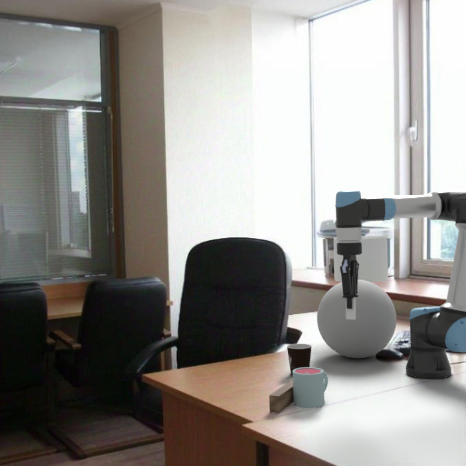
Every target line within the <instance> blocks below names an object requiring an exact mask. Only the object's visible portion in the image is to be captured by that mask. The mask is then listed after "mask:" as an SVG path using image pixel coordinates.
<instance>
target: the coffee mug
mask: <svg viewBox="0 0 466 466" xmlns="http://www.w3.org/2000/svg"><path fill="white" fill-rule="evenodd" d="M286 349H287V357H288V364H289V371H290V375H291V377H293V370H294V369H297V368H303V367H311V357H312V345H311V344H307V343H292V344H288V345H286Z"/></svg>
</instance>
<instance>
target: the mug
mask: <svg viewBox="0 0 466 466" xmlns="http://www.w3.org/2000/svg"><path fill="white" fill-rule="evenodd" d="M292 380H293V403H292V404H293V406H295V407H297V408H300V409H318V408H322V407H323V406H325V392H326V390H327V387H328V386H329V385H328V384H329V377H328V374H327V372H326V371H325V370H324V369H323V368H318V367H313V366H312V367H311V366H310V367H303V368H297V369H294V370H293V376H292Z"/></svg>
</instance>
